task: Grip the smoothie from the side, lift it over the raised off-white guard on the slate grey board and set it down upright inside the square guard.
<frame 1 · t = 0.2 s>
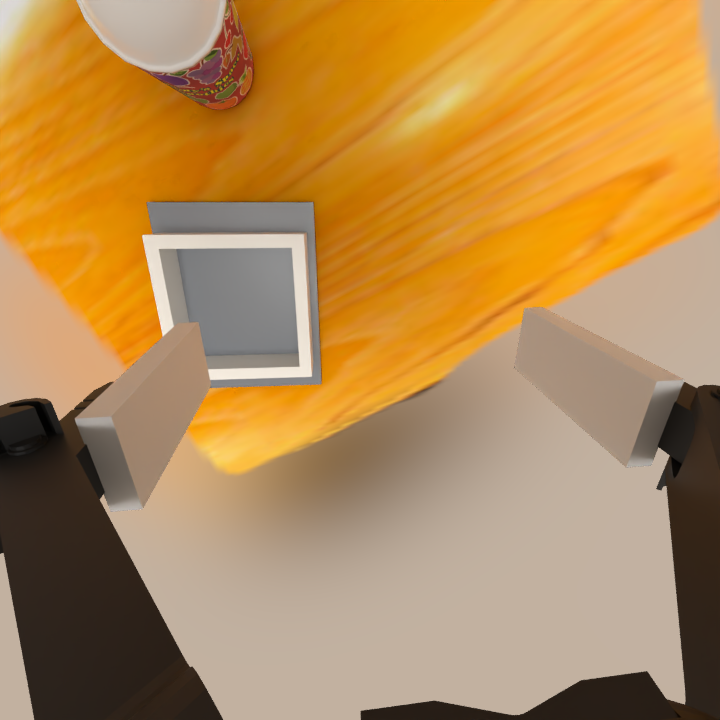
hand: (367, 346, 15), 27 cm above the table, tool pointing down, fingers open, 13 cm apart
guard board: (245, 300, 41), on the table
smoothie: (218, 69, 33), on the table
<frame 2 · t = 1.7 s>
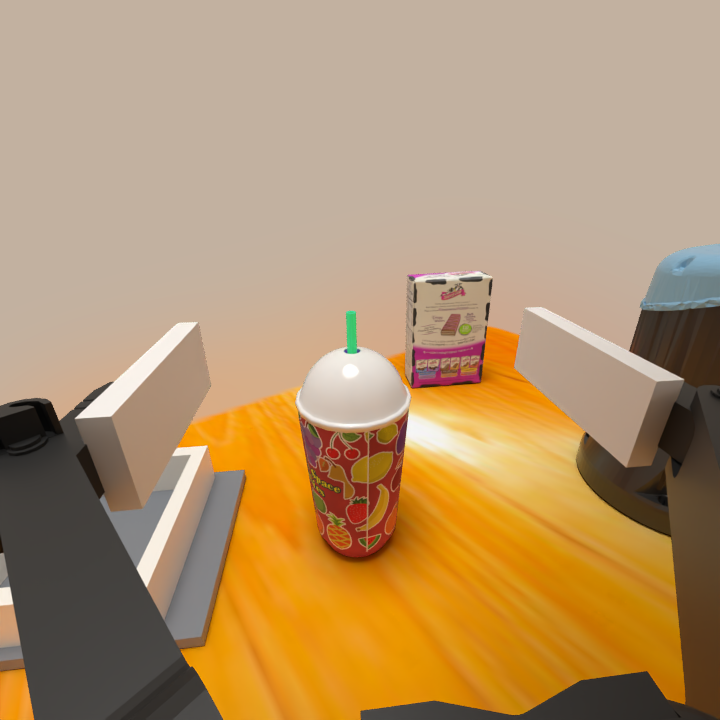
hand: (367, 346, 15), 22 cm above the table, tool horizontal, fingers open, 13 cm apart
candy bar box: (440, 380, 59), on the table
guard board: (107, 554, 31), on the table
smoothie: (357, 531, 33), on the table
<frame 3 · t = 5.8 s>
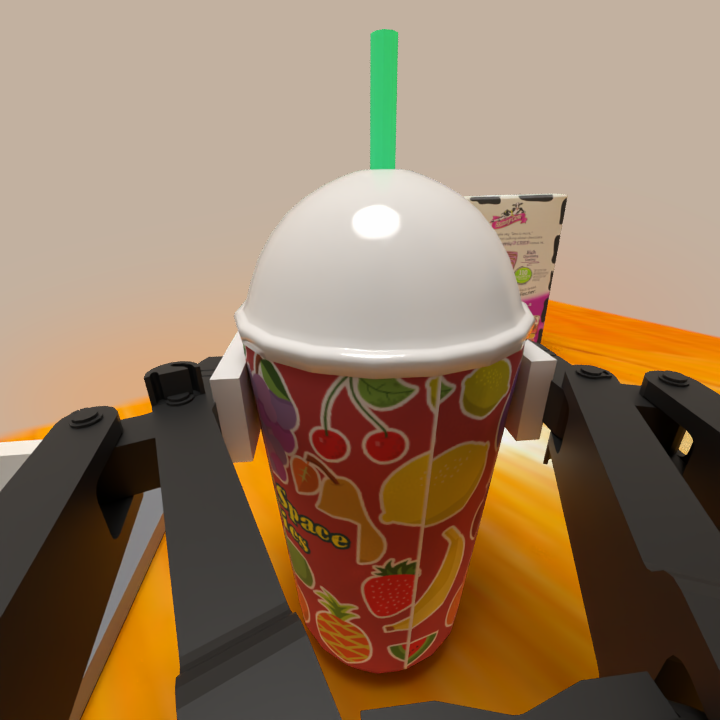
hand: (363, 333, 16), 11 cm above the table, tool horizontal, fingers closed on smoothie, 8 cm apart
candy bar box: (481, 352, 43), on the table
smoothie: (377, 603, 17), on the table, touching gripper
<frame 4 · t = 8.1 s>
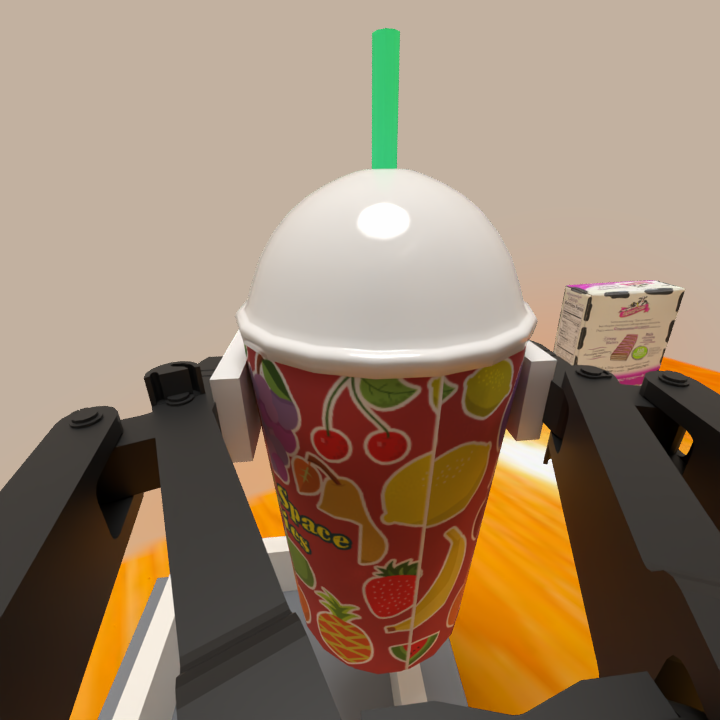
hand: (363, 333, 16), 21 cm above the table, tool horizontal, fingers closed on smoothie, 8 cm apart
candy bar box: (589, 411, 49), on the table
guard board: (286, 703, 21), on the table
smoothie: (378, 604, 17), point 10 cm above the table, touching gripper
when the fingers open (13 cm above the table, at t = 10.2 s): smoothie drops 1 cm, resting on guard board.
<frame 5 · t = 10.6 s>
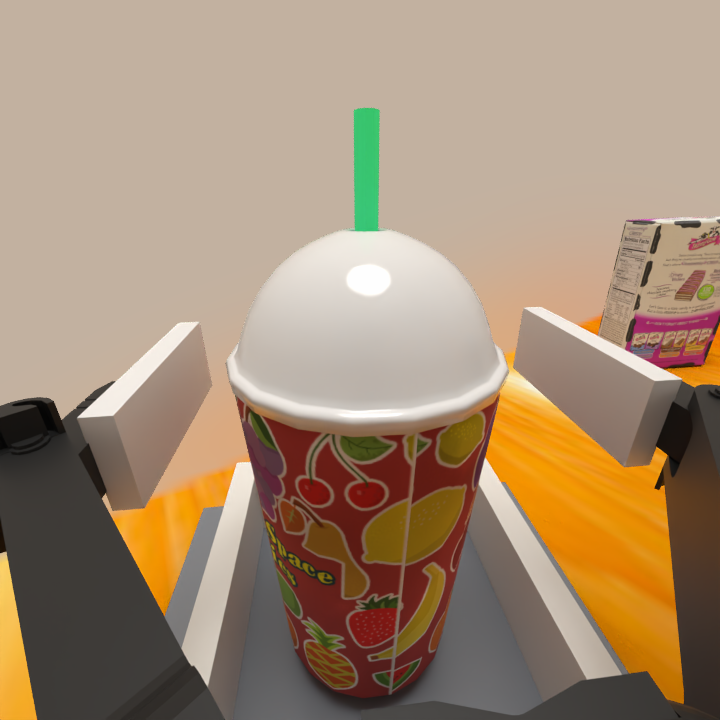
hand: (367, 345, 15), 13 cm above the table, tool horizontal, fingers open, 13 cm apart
candy bar box: (643, 362, 46), on the table
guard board: (377, 634, 18), on the table
smoothie: (365, 626, 17), point 1 cm above the table, touching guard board
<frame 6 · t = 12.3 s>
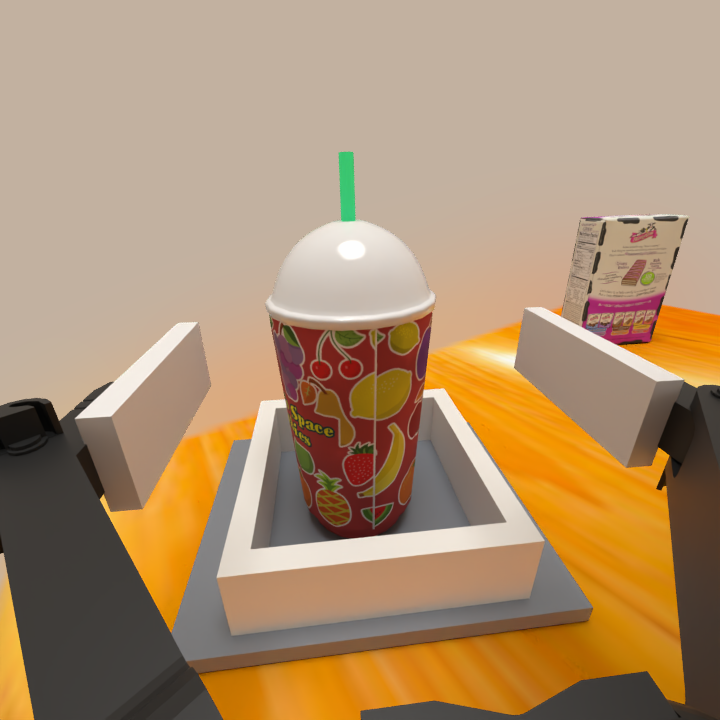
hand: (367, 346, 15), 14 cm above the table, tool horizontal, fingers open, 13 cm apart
candy bar box: (600, 340, 53), on the table
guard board: (367, 513, 25), on the table
smoothie: (358, 505, 24), point 1 cm above the table, touching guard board
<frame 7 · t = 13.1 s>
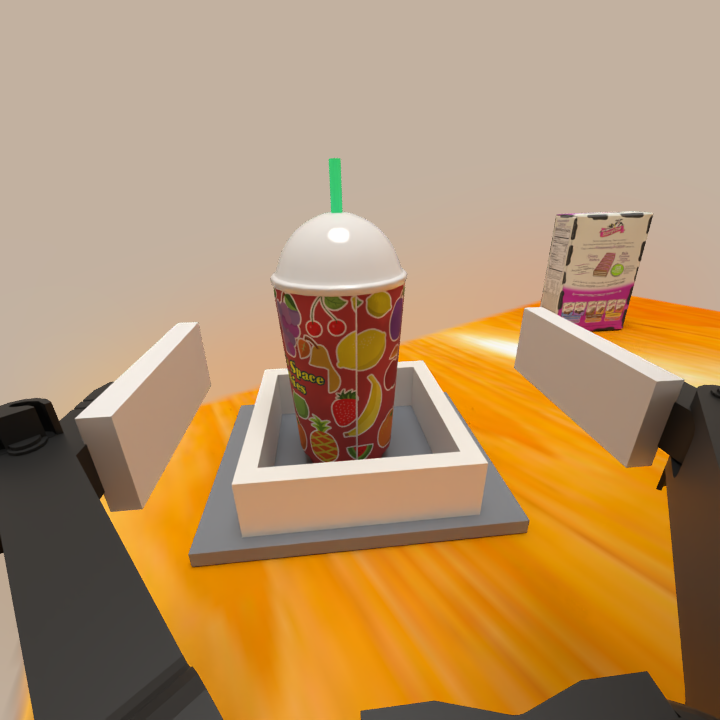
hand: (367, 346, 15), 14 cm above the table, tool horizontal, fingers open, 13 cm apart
candy bar box: (576, 328, 57), on the table
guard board: (353, 460, 29), on the table
smoothie: (346, 453, 29), point 1 cm above the table, touching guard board
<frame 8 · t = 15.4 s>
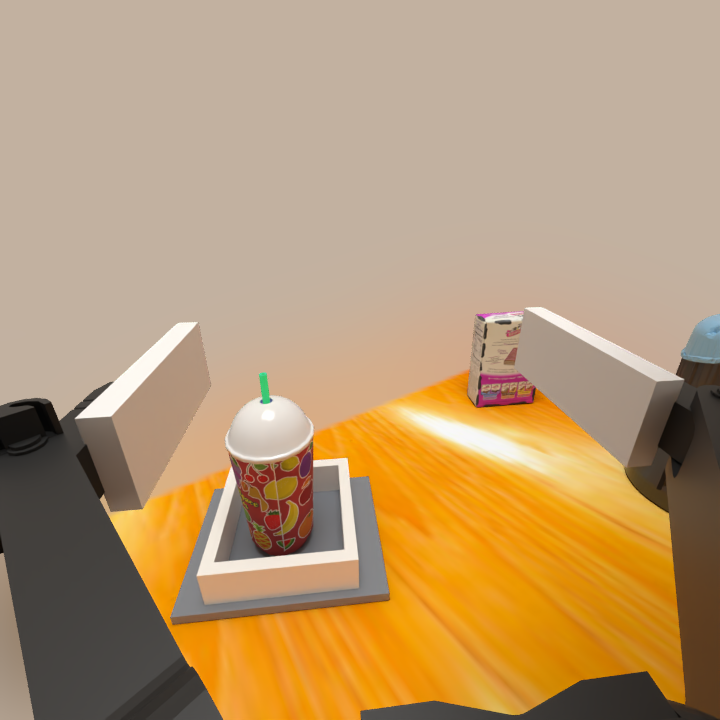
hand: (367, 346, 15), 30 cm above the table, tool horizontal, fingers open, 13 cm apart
candy bar box: (498, 400, 70), on the table
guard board: (289, 539, 42), on the table
smoothie: (283, 535, 42), point 1 cm above the table, touching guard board
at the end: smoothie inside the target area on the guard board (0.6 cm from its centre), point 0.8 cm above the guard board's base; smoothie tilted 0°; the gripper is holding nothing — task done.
